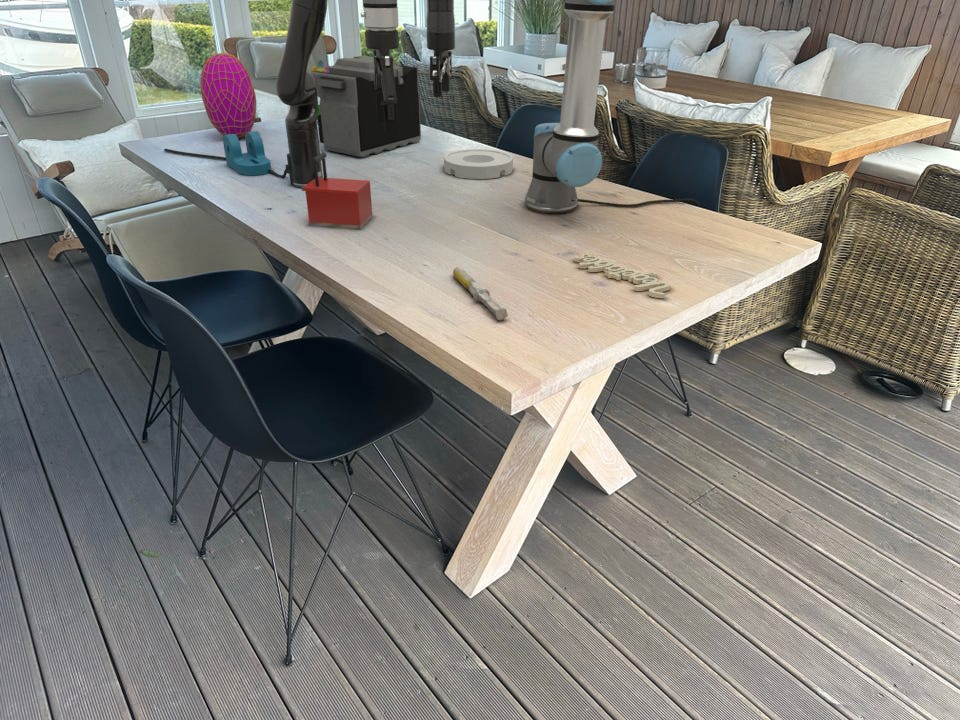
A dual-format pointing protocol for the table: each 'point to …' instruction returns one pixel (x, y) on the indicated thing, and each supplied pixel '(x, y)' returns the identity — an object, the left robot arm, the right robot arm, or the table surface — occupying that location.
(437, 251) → the table surface
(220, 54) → the decorative egg
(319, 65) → the potted flower
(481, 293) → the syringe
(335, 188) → the lid
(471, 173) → the ashtray
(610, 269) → the decorative sign
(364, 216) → the chest
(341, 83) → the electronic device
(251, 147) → the camera mount
